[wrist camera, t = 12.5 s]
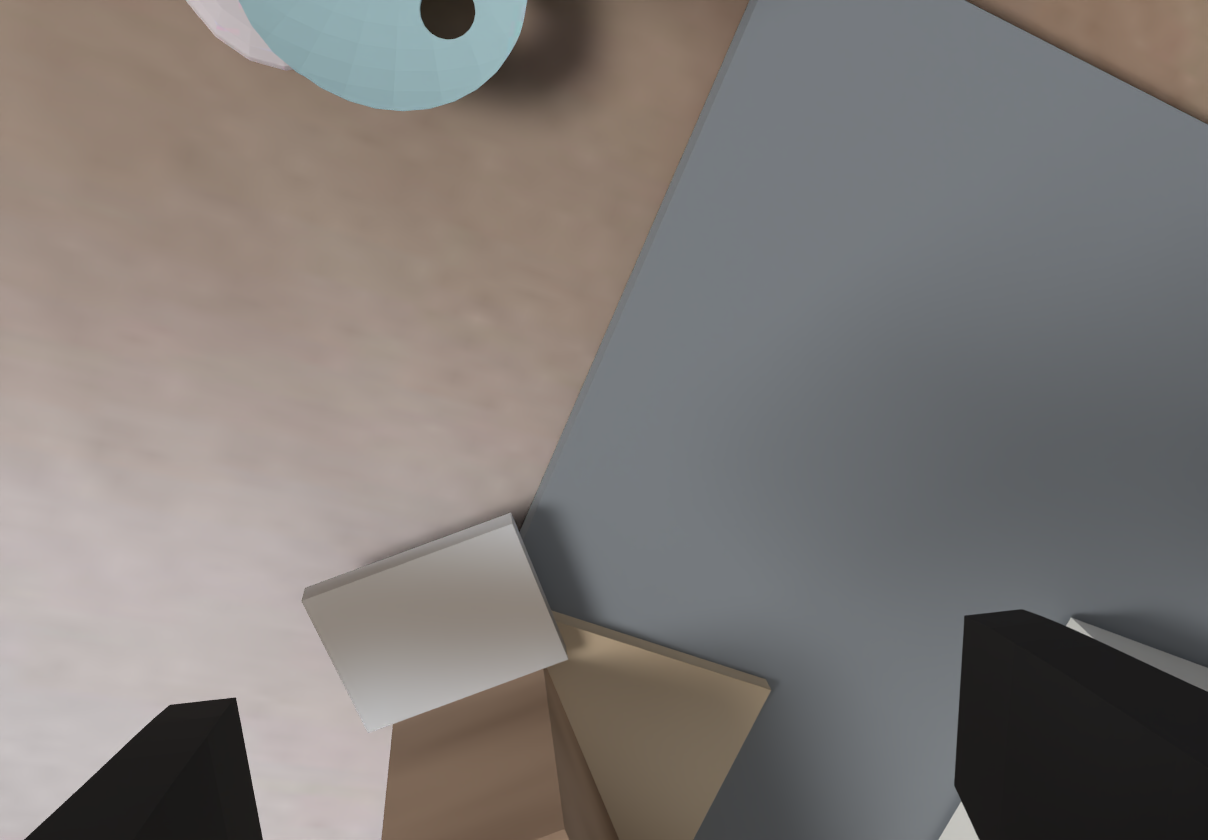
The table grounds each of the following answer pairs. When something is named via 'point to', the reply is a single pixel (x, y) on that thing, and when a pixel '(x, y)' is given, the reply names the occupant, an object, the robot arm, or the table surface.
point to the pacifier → (369, 46)
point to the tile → (959, 830)
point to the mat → (894, 395)
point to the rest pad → (653, 726)
